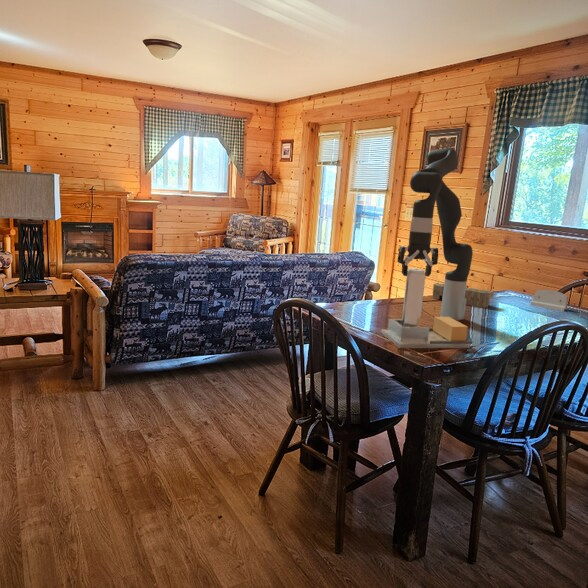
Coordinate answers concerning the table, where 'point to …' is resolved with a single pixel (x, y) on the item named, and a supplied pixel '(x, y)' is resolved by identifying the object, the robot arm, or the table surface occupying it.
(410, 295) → the air filter
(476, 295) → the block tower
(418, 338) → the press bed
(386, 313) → the table surface
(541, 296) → the hinge
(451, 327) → the block
